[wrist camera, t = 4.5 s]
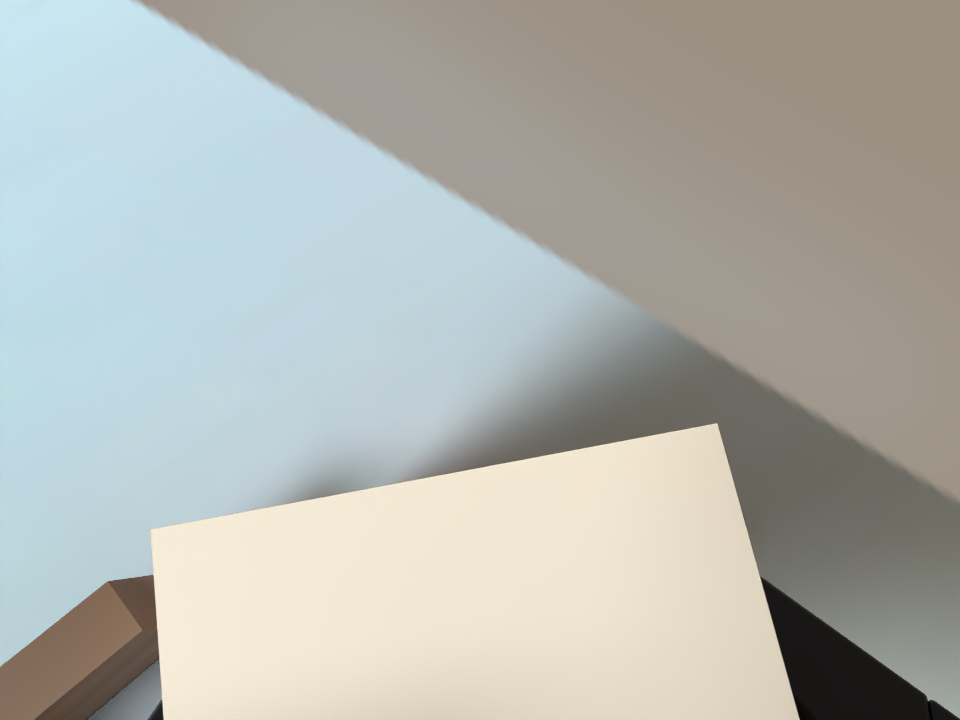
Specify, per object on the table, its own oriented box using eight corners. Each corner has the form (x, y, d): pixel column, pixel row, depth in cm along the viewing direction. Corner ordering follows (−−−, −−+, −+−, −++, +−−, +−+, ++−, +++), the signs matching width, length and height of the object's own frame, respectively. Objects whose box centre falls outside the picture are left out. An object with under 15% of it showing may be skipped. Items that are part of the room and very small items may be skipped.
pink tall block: (603, 723, 15) (904, 1095, 5) (372, 775, 14) (203, 1293, 4) (554, 491, 16) (717, 423, 6) (340, 532, 15) (150, 530, 6)
